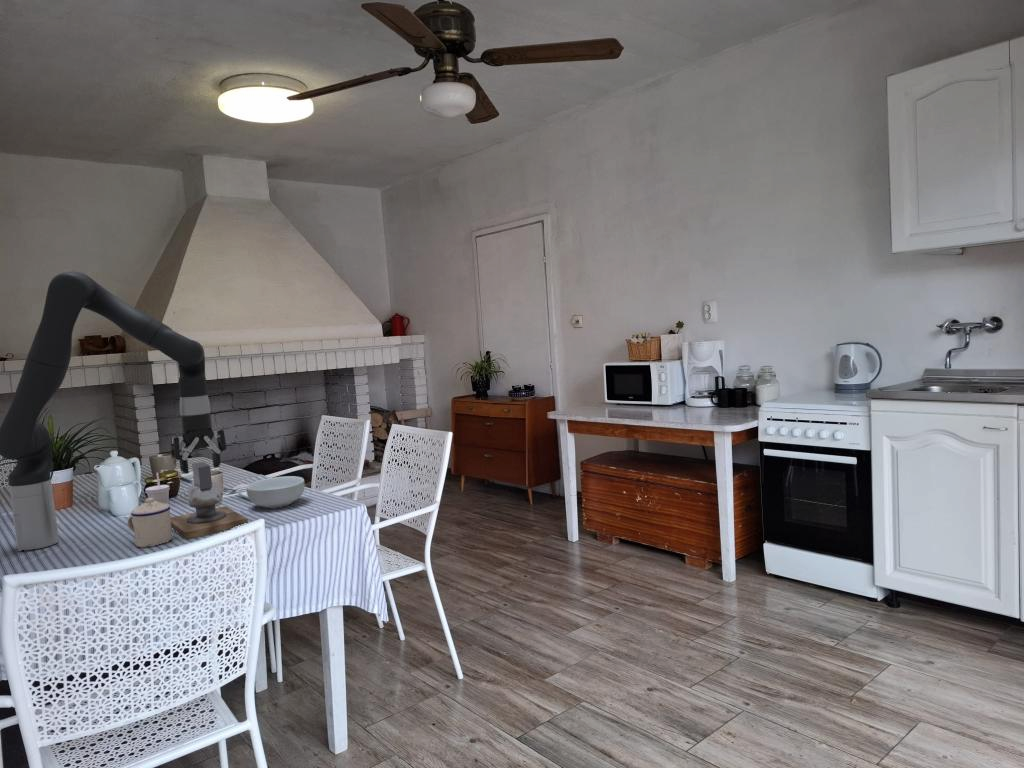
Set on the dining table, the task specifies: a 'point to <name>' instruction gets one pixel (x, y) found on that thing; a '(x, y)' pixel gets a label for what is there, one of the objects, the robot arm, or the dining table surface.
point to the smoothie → (158, 492)
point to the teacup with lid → (151, 523)
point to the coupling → (203, 487)
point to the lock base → (206, 521)
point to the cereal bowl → (276, 491)
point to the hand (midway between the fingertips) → (201, 470)
